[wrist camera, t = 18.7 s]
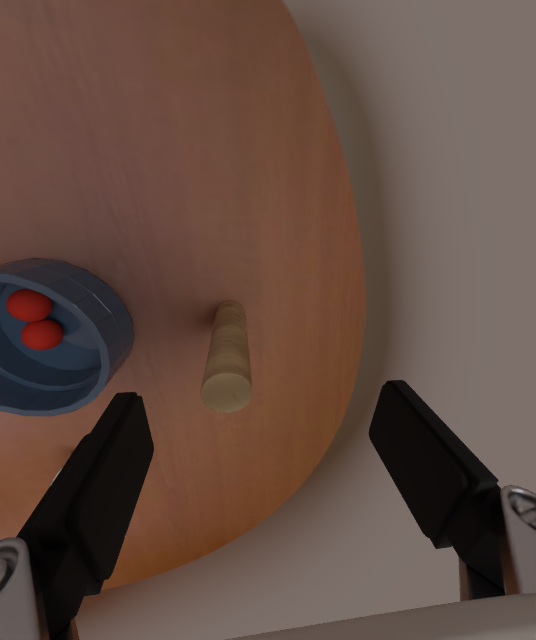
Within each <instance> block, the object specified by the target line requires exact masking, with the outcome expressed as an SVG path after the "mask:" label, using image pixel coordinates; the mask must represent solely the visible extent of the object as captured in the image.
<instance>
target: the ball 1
mask: <svg viewBox="0 0 536 640" xmlns="http://www.w3.org/2000/svg"><path fill="white" fill-rule="evenodd" d="M52 307H53V305H52V301H51V299H50V298H49V297H47V296H46V295H44V294H42V293H39V292H36V291H33V290H30V289H20V290H17V291H15V292H13V293H12V294H11V295H10V296H9V297H8V299H7V301H6V308H7V310H8V312H9V313H10V314H11V315H12V316H13V317H15V318H17V319H19V320H22V321H27V322H33V321H39V320H42V319H44V318H45V317H47V316H48V315H49V314H50V313H51V311H52Z"/></svg>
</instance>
